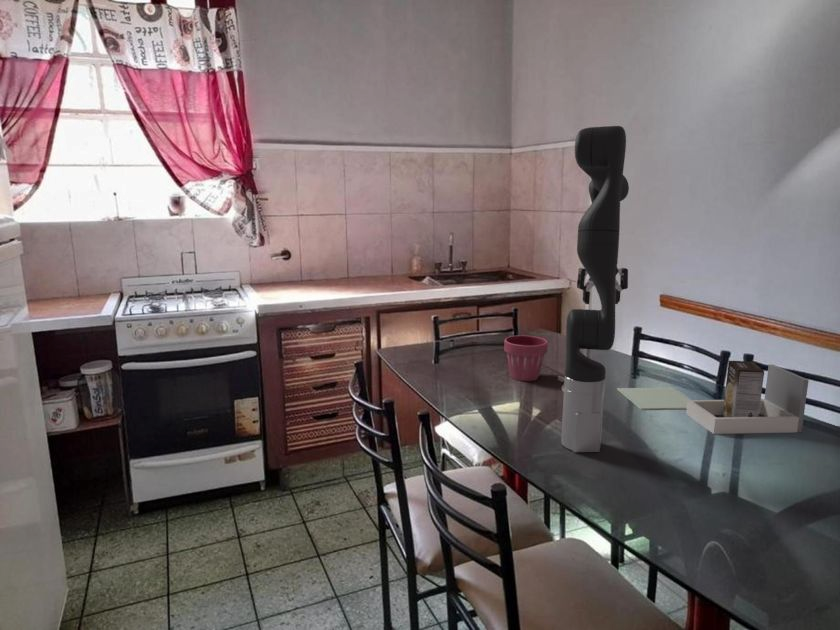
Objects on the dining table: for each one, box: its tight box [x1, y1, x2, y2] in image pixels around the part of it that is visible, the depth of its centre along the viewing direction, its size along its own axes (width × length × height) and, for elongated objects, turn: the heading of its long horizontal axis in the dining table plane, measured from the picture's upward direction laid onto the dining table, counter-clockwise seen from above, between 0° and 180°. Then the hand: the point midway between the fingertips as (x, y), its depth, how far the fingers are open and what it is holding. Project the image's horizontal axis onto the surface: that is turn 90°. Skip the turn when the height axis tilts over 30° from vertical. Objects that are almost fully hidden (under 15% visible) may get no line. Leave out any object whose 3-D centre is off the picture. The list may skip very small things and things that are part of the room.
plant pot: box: [503, 334, 549, 382], centre depth 195 cm, size 14×14×13 cm
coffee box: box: [722, 360, 765, 417], centre depth 156 cm, size 9×6×16 cm
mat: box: [616, 386, 692, 411], centre depth 176 cm, size 18×18×1 cm
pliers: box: [557, 375, 565, 393], centre depth 188 cm, size 10×2×15 cm
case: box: [685, 364, 810, 435], centre depth 156 cm, size 14×23×14 cm, turn 93°
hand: (601, 303), depth 171 cm, fingers open, 8 cm apart
